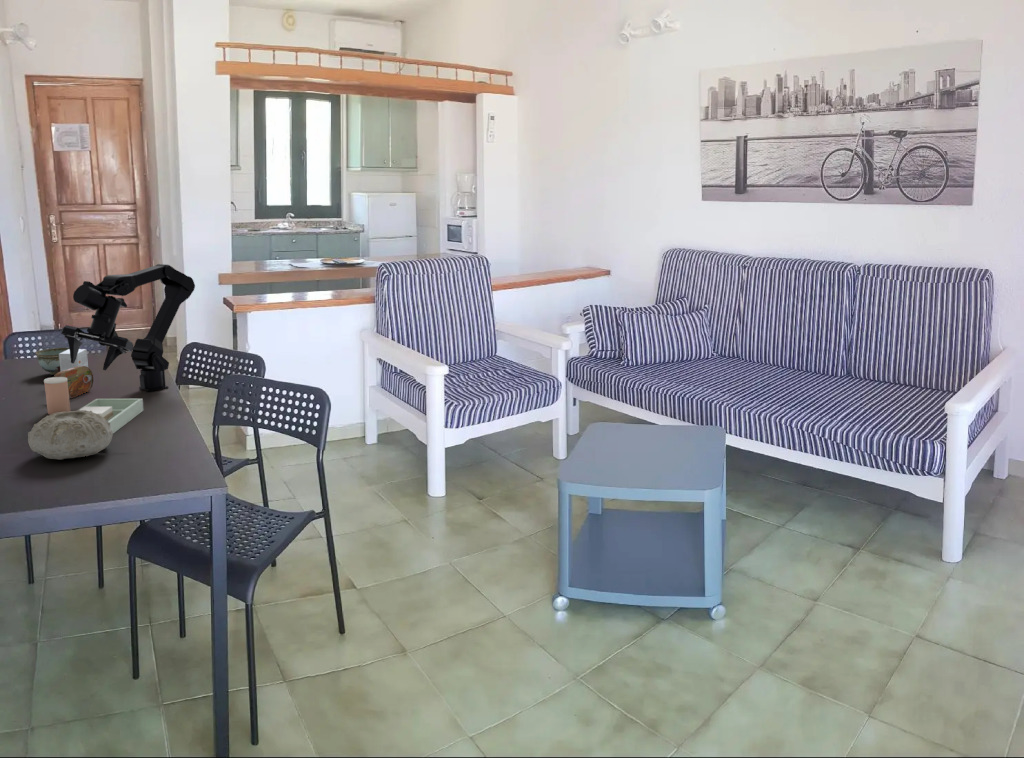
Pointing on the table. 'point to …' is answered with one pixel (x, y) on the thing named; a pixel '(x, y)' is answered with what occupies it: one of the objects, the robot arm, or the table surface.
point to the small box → (80, 360)
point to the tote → (119, 410)
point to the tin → (77, 380)
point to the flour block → (101, 411)
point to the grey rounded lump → (70, 435)
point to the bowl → (50, 359)
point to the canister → (57, 395)
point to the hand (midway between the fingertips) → (88, 366)
